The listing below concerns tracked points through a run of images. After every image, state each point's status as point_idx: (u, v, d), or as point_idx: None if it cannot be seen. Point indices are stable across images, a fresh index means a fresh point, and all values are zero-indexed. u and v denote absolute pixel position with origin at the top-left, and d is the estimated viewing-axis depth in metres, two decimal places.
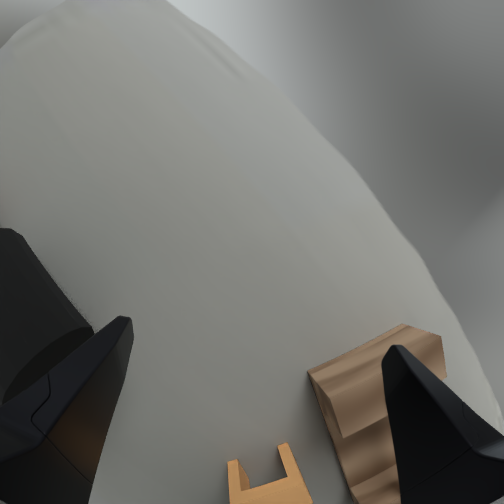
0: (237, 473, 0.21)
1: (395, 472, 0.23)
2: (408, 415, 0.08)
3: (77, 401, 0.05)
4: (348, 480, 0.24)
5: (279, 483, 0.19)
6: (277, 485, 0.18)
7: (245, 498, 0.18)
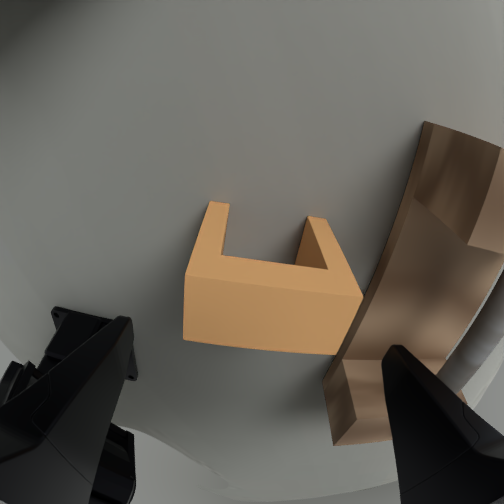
0: (223, 222, 0.13)
1: None
2: (408, 415, 0.08)
3: (77, 401, 0.05)
4: (350, 345, 0.19)
5: (310, 274, 0.11)
6: (306, 276, 0.10)
7: (227, 272, 0.10)
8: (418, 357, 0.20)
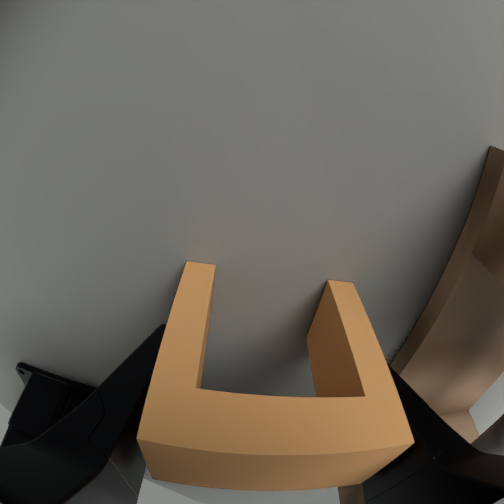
0: (203, 308, 0.08)
1: None
2: None
3: (134, 417, 0.06)
4: None
5: (340, 414, 0.06)
6: (334, 420, 0.06)
7: (205, 432, 0.05)
8: (441, 414, 0.15)
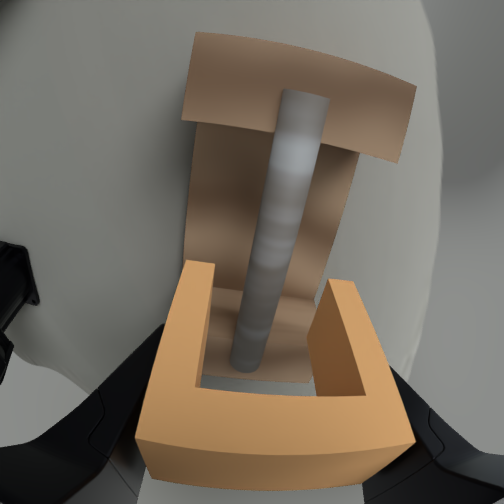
0: (202, 307, 0.08)
1: None
2: None
3: (134, 417, 0.06)
4: None
5: (340, 413, 0.06)
6: (334, 420, 0.06)
7: (204, 431, 0.05)
8: None
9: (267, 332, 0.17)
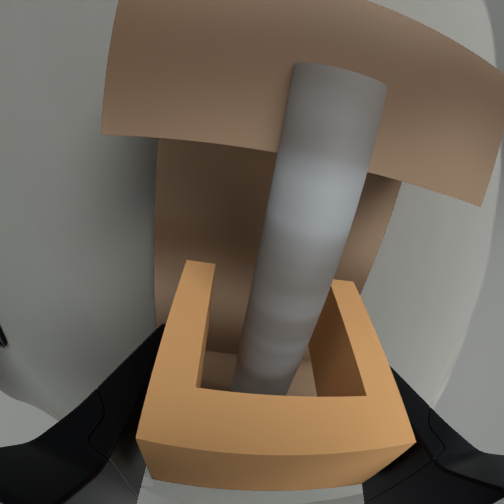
0: (203, 307, 0.08)
1: None
2: None
3: (134, 416, 0.06)
4: (158, 325, 0.16)
5: (341, 413, 0.06)
6: (335, 420, 0.06)
7: (205, 431, 0.05)
8: None
9: None
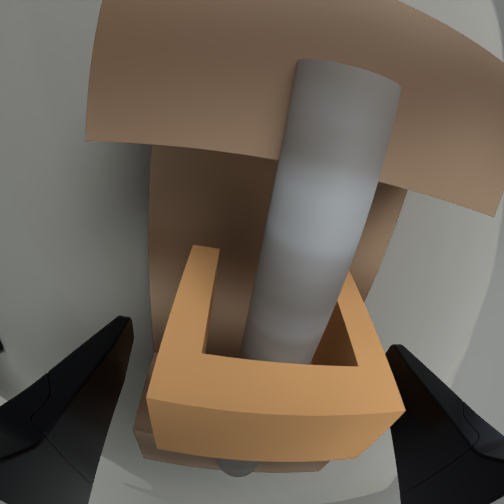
0: (208, 285, 0.09)
1: None
2: (408, 415, 0.08)
3: (77, 401, 0.05)
4: (154, 334, 0.15)
5: (334, 380, 0.07)
6: (328, 386, 0.07)
7: (210, 391, 0.06)
8: None
9: None
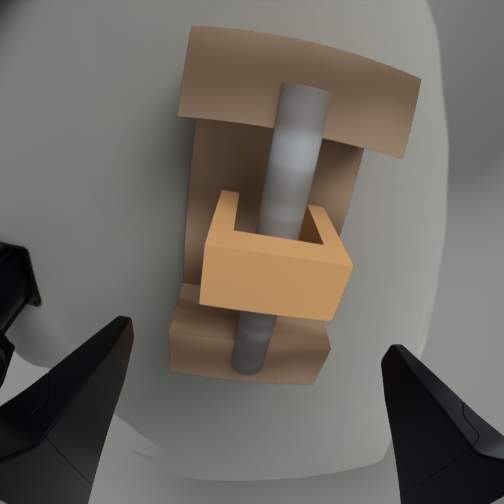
0: (234, 206, 0.15)
1: None
2: (408, 415, 0.08)
3: (77, 401, 0.05)
4: (185, 266, 0.21)
5: (308, 247, 0.13)
6: (305, 248, 0.13)
7: (239, 243, 0.12)
8: None
9: (269, 334, 0.16)
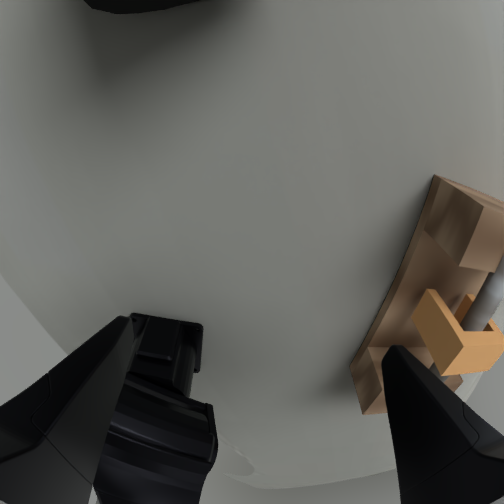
0: (447, 307, 0.19)
1: None
2: (408, 415, 0.08)
3: (77, 401, 0.05)
4: (374, 335, 0.25)
5: (491, 335, 0.17)
6: (491, 337, 0.16)
7: (472, 341, 0.16)
8: (423, 345, 0.26)
9: (445, 380, 0.20)
